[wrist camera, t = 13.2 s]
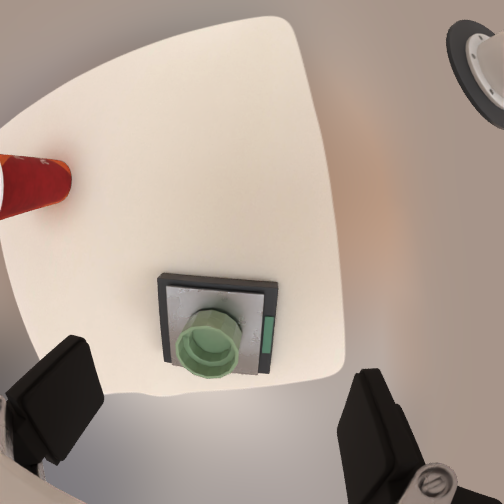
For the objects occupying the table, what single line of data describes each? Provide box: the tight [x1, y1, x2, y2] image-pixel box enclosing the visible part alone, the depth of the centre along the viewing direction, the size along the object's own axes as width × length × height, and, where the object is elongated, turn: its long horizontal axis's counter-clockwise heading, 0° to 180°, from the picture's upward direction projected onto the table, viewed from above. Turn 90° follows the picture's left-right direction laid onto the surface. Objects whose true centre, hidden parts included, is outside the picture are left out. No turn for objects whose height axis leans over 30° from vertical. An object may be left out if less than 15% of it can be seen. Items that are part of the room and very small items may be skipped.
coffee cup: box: [0, 154, 72, 220], centre depth 25 cm, size 8×8×15 cm
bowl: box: [175, 310, 242, 379], centre depth 30 cm, size 7×7×4 cm
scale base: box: [157, 273, 278, 374], centre depth 34 cm, size 14×12×2 cm
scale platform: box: [166, 285, 264, 375], centre depth 33 cm, size 11×11×1 cm
